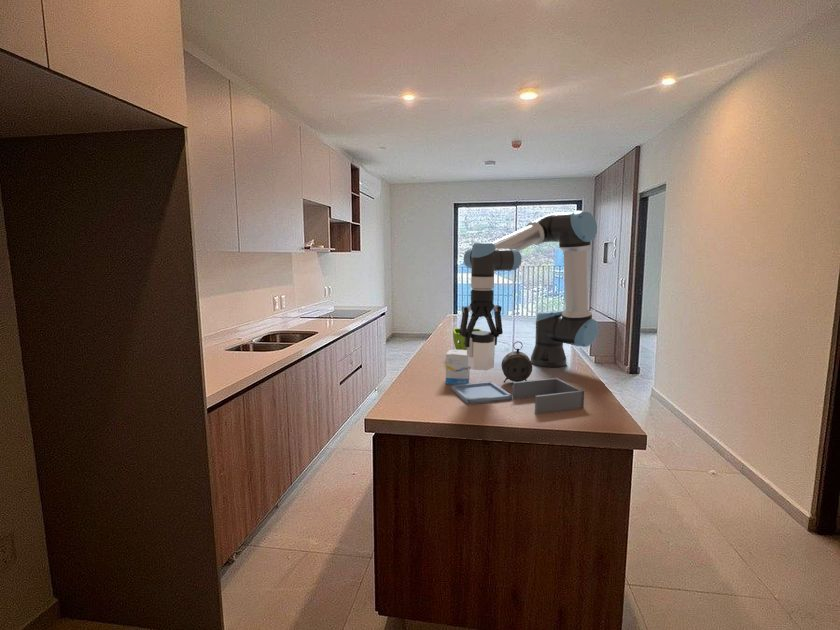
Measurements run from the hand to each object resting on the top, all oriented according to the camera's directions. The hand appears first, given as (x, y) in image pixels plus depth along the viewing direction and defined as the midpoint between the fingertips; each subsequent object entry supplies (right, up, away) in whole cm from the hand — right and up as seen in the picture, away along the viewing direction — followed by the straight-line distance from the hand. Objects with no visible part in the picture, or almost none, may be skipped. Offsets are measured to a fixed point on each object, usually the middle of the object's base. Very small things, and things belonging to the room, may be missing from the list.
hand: (480, 355), depth 148 cm
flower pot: (+1, -6, +53) cm, 54 cm away
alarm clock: (+15, -12, +14) cm, 24 cm away
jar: (0, -4, +1) cm, 4 cm away
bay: (+21, -15, -6) cm, 26 cm away
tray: (0, -14, +2) cm, 14 cm away
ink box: (-6, -12, +17) cm, 22 cm away
